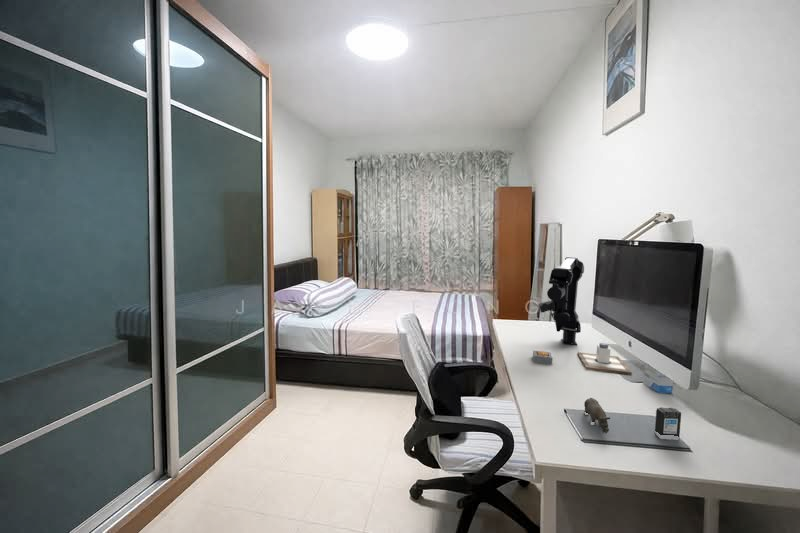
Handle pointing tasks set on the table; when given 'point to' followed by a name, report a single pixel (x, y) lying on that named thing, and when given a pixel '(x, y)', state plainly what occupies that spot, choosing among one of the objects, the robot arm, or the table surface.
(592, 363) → the wooden picture frame
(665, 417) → the ink cartridge
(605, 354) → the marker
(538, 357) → the button housing
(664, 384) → the ink box
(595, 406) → the grey animal figure
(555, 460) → the table surface
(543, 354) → the button
